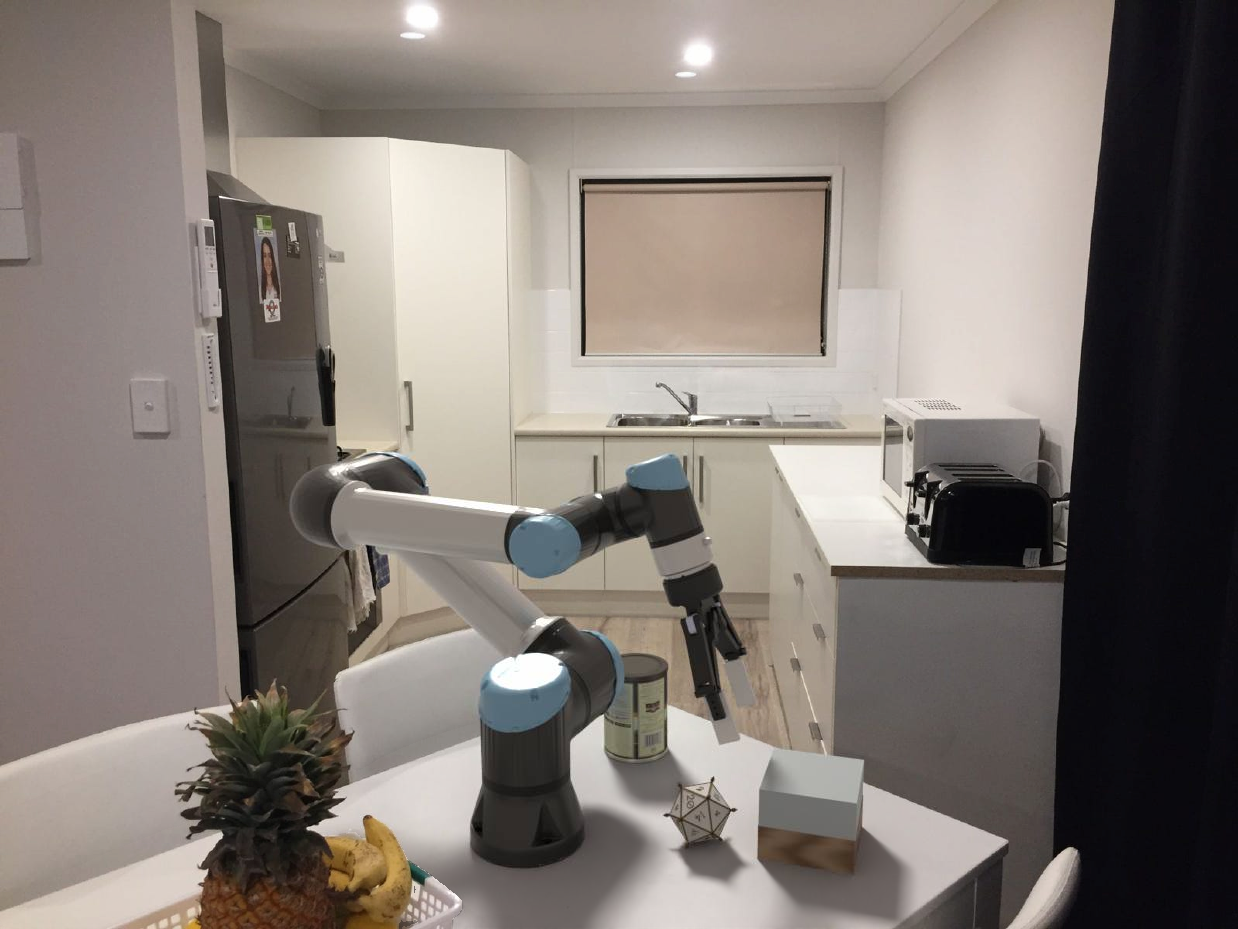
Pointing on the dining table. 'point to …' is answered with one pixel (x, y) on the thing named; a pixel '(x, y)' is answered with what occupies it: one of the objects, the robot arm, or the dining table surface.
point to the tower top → (812, 794)
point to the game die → (700, 812)
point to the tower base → (809, 849)
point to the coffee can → (639, 711)
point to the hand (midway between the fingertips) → (739, 722)
